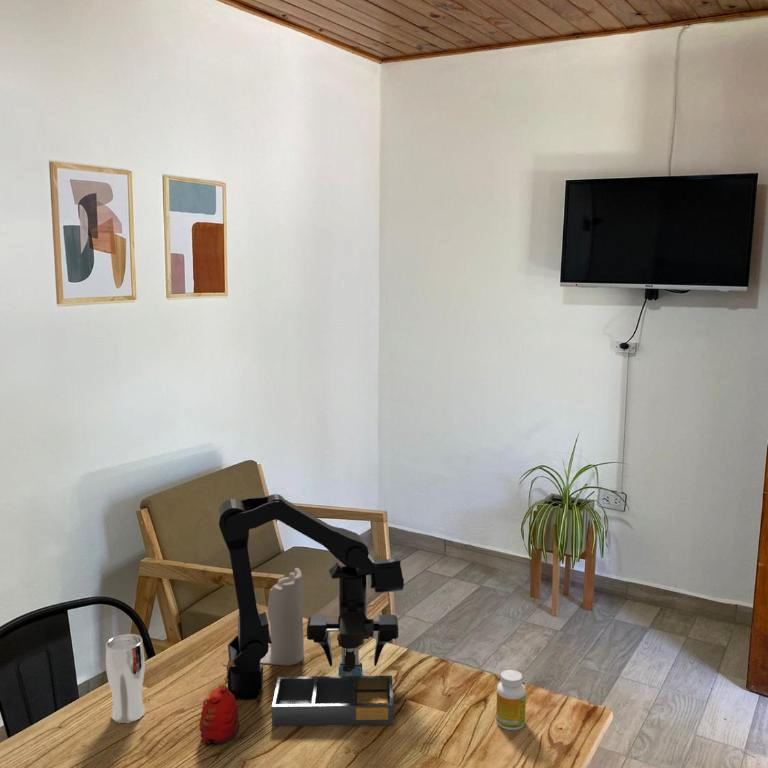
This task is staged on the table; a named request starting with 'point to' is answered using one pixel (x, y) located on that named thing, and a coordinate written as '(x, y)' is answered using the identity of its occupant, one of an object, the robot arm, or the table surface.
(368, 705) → the divided tray
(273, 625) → the grey tall wavy piece
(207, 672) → the table surface
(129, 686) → the beer glass
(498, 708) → the supplement bottle
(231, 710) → the red clay folk toy
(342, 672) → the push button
